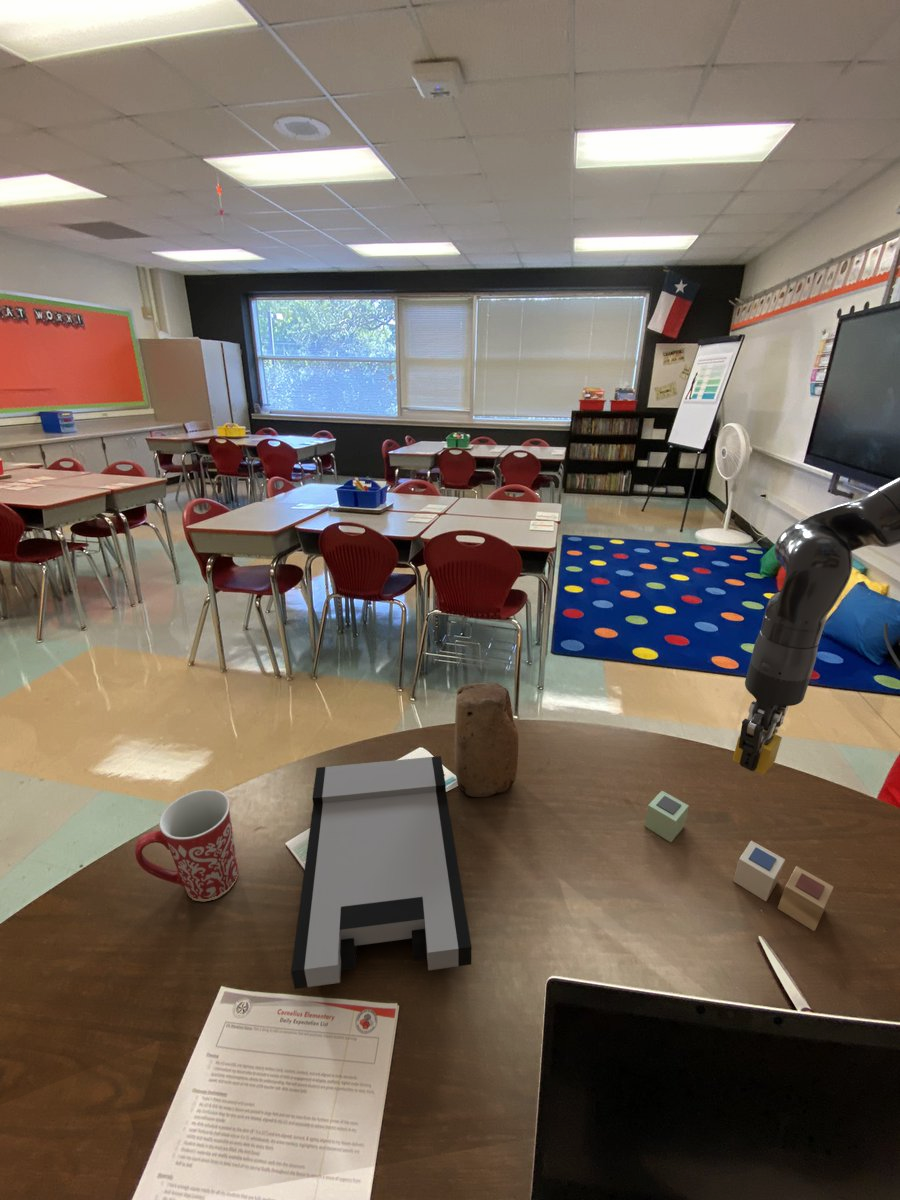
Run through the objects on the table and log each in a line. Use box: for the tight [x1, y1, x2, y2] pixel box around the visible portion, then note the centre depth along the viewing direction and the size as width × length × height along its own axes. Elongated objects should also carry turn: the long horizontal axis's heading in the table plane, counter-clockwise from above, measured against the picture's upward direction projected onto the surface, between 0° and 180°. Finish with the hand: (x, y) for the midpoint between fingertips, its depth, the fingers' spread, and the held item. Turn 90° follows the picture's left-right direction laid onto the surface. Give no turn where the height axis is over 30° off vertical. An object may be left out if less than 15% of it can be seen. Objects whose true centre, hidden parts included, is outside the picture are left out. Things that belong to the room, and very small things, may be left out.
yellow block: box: [732, 730, 783, 776], centre depth 82 cm, size 5×5×5 cm
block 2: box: [644, 790, 690, 843], centre depth 87 cm, size 5×5×5 cm
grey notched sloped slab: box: [290, 755, 473, 990], centre depth 78 cm, size 21×32×8 cm, turn 7°
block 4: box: [777, 865, 835, 932], centre depth 74 cm, size 5×5×5 cm
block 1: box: [453, 682, 519, 798], centre depth 93 cm, size 11×8×20 cm
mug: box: [134, 788, 239, 899], centre depth 76 cm, size 13×9×14 cm
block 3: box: [732, 840, 786, 902], centre depth 78 cm, size 5×5×5 cm
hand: (754, 758), depth 83 cm, fingers closed on yellow block, 4 cm apart
